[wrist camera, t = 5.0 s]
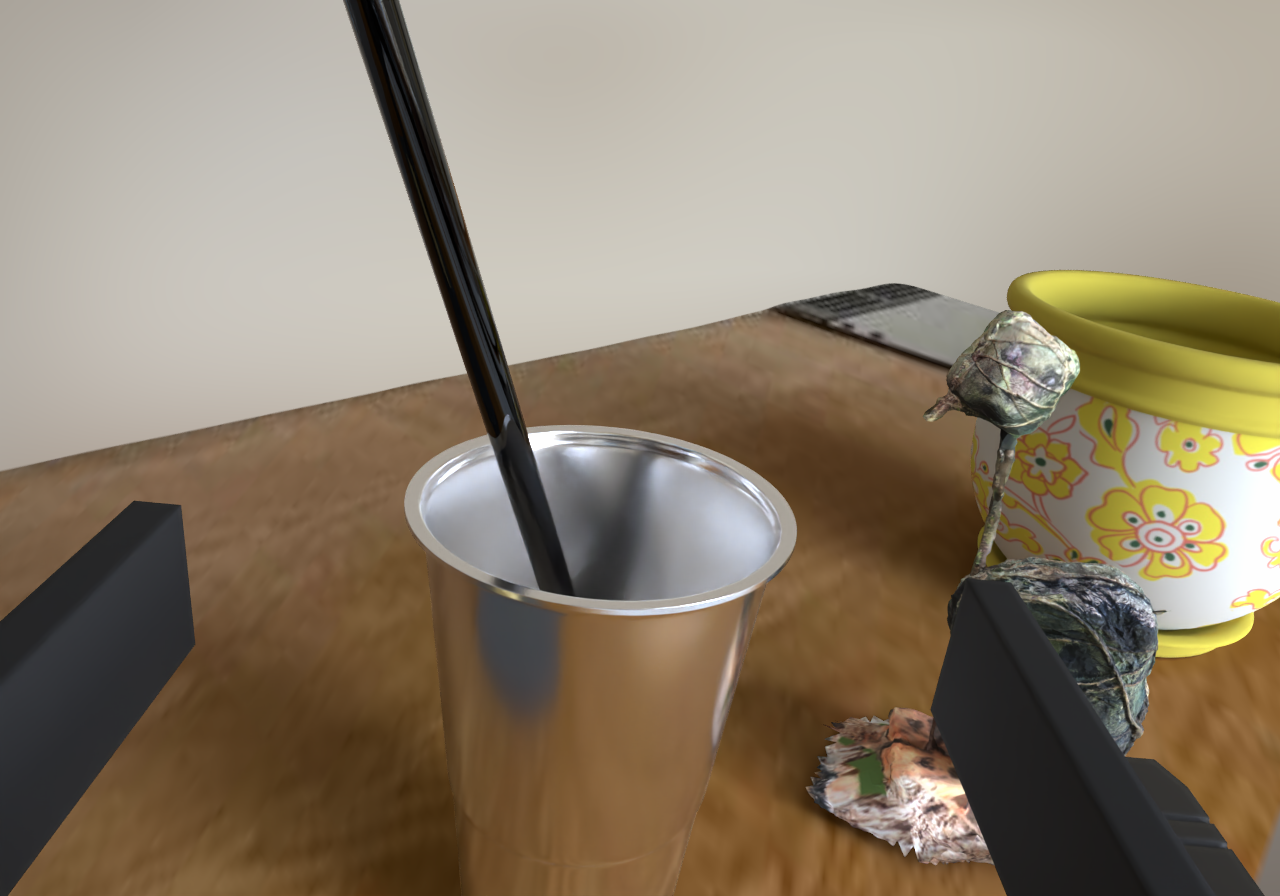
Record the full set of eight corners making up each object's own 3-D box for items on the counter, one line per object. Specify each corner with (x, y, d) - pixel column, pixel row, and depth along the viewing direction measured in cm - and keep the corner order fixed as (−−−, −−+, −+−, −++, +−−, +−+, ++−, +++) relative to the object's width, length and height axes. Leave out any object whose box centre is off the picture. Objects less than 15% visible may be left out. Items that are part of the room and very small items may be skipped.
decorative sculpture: (1084, 965, 31) (1319, 396, 23) (775, 801, 37) (880, 292, 29) (1122, 819, 38) (1318, 333, 30) (854, 698, 43) (958, 258, 35)
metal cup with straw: (319, 1102, 25) (243, -295, 13) (421, 790, 35) (432, -151, 23) (729, 1139, 25) (1024, -206, 13) (712, 818, 36) (868, -102, 24)
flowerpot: (960, 653, 47) (1050, 334, 41) (925, 498, 64) (986, 253, 57) (1350, 726, 45) (1513, 401, 38) (1210, 546, 61) (1308, 296, 55)
